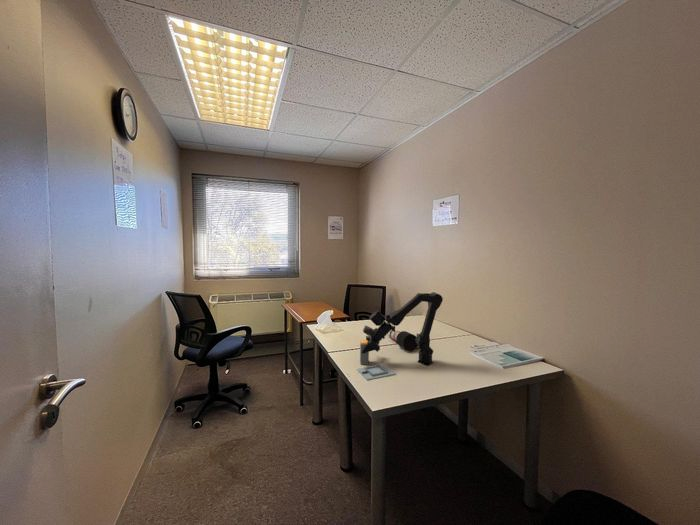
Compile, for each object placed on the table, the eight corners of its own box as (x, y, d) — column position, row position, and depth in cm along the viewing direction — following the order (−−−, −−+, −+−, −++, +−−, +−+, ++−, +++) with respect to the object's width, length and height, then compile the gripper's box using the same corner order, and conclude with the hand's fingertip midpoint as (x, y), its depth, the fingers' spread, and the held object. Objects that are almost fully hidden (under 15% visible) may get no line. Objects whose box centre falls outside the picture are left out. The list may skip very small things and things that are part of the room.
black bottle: (391, 341, 200) (397, 328, 202) (414, 353, 167) (420, 338, 169) (379, 335, 198) (385, 322, 200) (400, 347, 165) (407, 331, 167)
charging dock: (383, 364, 149) (383, 362, 149) (395, 374, 138) (395, 371, 138) (356, 369, 143) (356, 366, 143) (367, 380, 132) (367, 377, 132)
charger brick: (367, 361, 154) (368, 340, 153) (368, 364, 150) (368, 343, 149) (360, 361, 154) (360, 340, 153) (360, 364, 149) (360, 343, 149)
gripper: (370, 316, 160) (351, 335, 160) (373, 326, 141) (352, 347, 141) (383, 330, 160) (364, 348, 161) (388, 341, 142) (367, 362, 142)
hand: (361, 351), depth 151 cm, fingers closed on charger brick, 4 cm apart
